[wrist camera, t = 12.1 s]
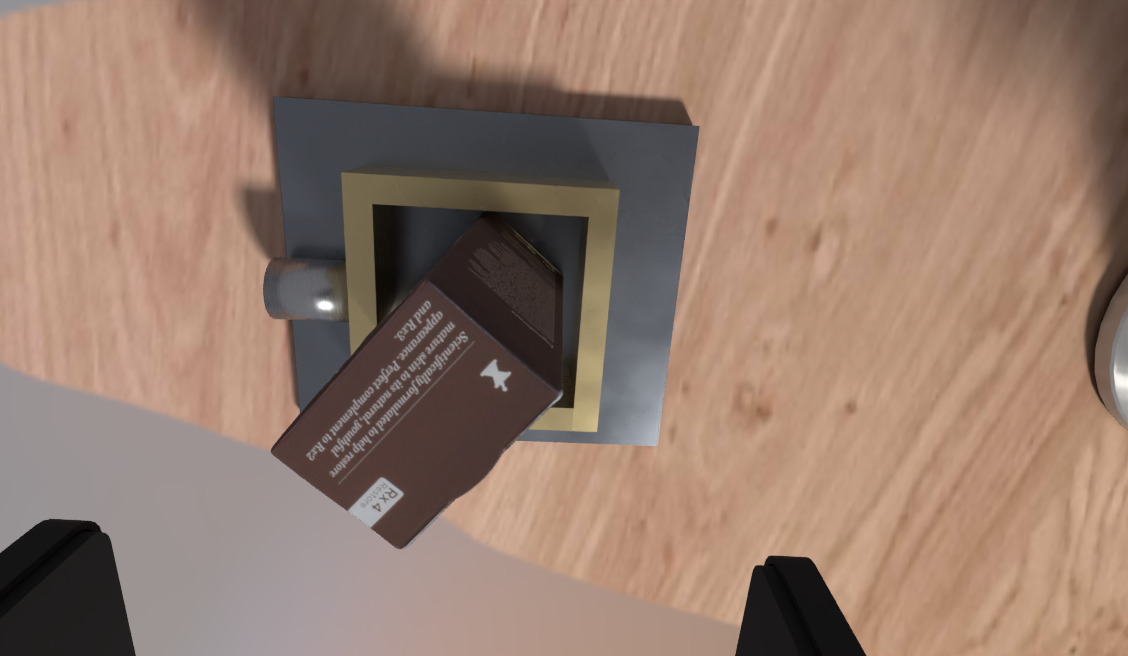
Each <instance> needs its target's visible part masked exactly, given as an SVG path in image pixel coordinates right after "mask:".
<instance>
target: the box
mask: <svg viewBox="0 0 1128 656" xmlns="http://www.w3.org/2000/svg"><path fill="white" fill-rule="evenodd" d="M563 279H564V277H563V275H561V273H560V272H559V271H558V270H557V269H556V268H555V267H554V266H553V264H552V263H551V262H549V261H548V260H547V259H545V258H544V257H543V256H542V255H541V254H540V253H539V252H538V251H537V250H536V249H535V248H534V247H533V246H532V245H531V244H530V243H528V242H527V241H526V240H525V239H523V238H522V237H521V236H520V235H519V234H518V233H517V232H516V231H515V230H514V229H513V228H512V227H510V226H509V225H508V224H507V223H506V222H505V221H504V220H503V219H502V218H501V217H500V216H499V215H497V214H496V213H495V212H494V211H485V212H484V213H483V214H482V215H481V216H480V217H479V218H478V219H477V220H476V221H475V222H474V223H473V224H472V225H471V227H470V228H469V229H468V230H467V231H466V232H465V233H464V234H463V235H462V236H461V237H460V238H459V239H458V240H457V242H456V243H455V244H454V245H453V246H452V247H451V248H450V249H449V250H448V251H447V253H446V254H445V255H444V256H443V257H442V258H441V259H440V261H439V262H438V263H437V264H436V265H435V266H434V267H433V268H432V269H431V270H430V271H429V273H428V274H427V275H426V276H425V277H424V278H423V279H422V280H421V281H420V282H419V283H418V284H417V285H416V286H415V287H414V288H413V289H412V290H411V292H410V293H409V294H408V295H407V296H406V297H405V298H404V299H403V300H402V301H401V302H400V303H399V304H398V305H397V306H396V307H395V308H394V309H393V310H392V311H391V312H390V313H389V314H388V315H387V317H386V318H385V319H384V320H383V321H381V322H380V323H379V324H378V325H377V326H376V327H375V328H374V329H373V330H372V331H371V332H370V333H369V334H368V335H367V336H366V338H365V339H364V340H363V342H362V343H361V344H360V346H359V347H358V348H357V349H356V351H355V352H354V353H353V354H352V355H351V356H350V357H349V358H348V360H347V361H346V362H345V363H344V364H343V365H342V366H341V367H340V369H339V370H338V371H337V372H336V373H335V374H334V376H333V377H332V378H331V379H330V380H329V381H328V382H327V383H326V384H325V385H324V387H323V388H322V389H321V390H320V391H319V392H318V393H317V394H316V396H315V397H314V398H313V399H312V400H311V401H310V402H309V404H308V405H307V406H306V407H305V408H304V410H303V411H302V412H301V413H300V414H299V415H298V417H297V418H296V419H295V420H294V421H293V423H292V424H291V425H290V426H289V427H288V429H287V430H286V431H285V432H284V433H283V434H282V436H281V437H280V438H279V439H278V441H277V442H276V443H275V444H274V446H273V447H272V449H271V453H272V455H274V456H275V457H276V458H277V459H279V460H280V461H281V462H282V463H284V464H285V465H286V466H288V467H289V468H290V469H292V470H293V471H294V472H296V473H297V474H298V475H299V476H300V477H302V478H303V479H305V480H306V481H307V482H309V483H310V484H311V485H312V486H314V487H315V488H316V489H318V490H319V491H321V492H322V493H324V494H325V495H326V496H328V497H329V498H330V499H332V500H333V501H334V502H336V503H337V504H338V505H340V506H341V507H343V508H344V509H345V510H347V511H348V512H349V513H351V514H352V515H354V516H355V517H356V518H358V519H359V520H360V521H362V522H363V523H364V524H366V525H367V526H368V527H370V528H371V529H372V530H374V531H375V532H376V533H378V534H379V535H380V536H381V537H383V538H384V539H385V540H387V541H388V542H389V543H390V544H392V545H393V546H394V547H395V548H397V549H403V548H406V547H408V546H409V545H410V544H412V542H414V541H415V540H416V538H417V537H418V536H419V535H420V534H421V533H422V532H423V531H424V530H425V529H426V528H427V527H428V526H429V525H430V524H431V523H432V522H433V521H434V520H435V519H436V518H437V517H438V516H439V515H440V514H441V513H442V512H443V511H444V510H445V509H446V508H447V507H448V506H449V505H450V504H451V503H452V502H453V501H454V500H455V499H457V498H459V497H460V496H462V495H464V494H466V493H467V492H469V491H470V490H471V489H473V488H474V487H475V486H476V485H477V484H479V483H480V482H481V481H482V480H483V479H484V478H485V477H486V476H487V475H488V474H489V472H490V471H491V470H492V469H493V467H494V466H495V465H496V463H497V462H498V460H499V458H500V457H501V455H502V454H503V453H504V452H505V451H506V450H507V449H508V448H509V447H510V446H511V445H512V444H513V443H514V442H515V441H516V440H517V439H518V438H519V437H520V436H521V435H522V434H524V433H525V432H526V431H527V430H528V429H529V428H530V427H531V426H532V425H533V424H534V423H535V422H536V421H537V420H538V419H539V418H540V417H541V416H542V415H543V414H544V413H545V412H546V411H547V410H548V409H549V408H550V407H552V406H553V405H554V404H555V403H556V402H557V401H558V400H559V399H560V398H561V397H562V395H563Z"/></svg>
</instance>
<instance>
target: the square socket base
mask: <svg viewBox="0 0 1128 656" xmlns="http://www.w3.org/2000/svg"><path fill="white" fill-rule="evenodd" d="M273 104H274V116H275V127H276V139H277V151H278V162H279V174H280V186H281V197H282V209H283V220H284V232H285V244H286V255H287V258H285V257H275V258H273V259H272V260H271V261H270V262H269V264H268V266H267V269H266V272H265V276H264V284H263V295H264V303H265V307H266V310H267V312H268V314H269V315H270V317H272V318H273V319H286V320H292V325H293V337H294V348H295V360H296V371H297V383H298V395H299V406H300V413H301V412H302V411H303V410H304V408H305V407H306V406H307V405H308V404H309V402H310V401H311V400H312V399H313V398H314V397H315V396H316V394H317V393H318V392H319V391H320V390H321V389H322V388H323V387H324V385H325V384H326V383H327V382H328V381H329V380H330V379H331V378H332V377H333V376H334V374H335V373H336V372H337V371H338V370H339V369H340V367H341V366H342V365H343V364H344V363H345V362H346V361H347V360H348V358H349V357H350V356H351V355H352V354H353V353H354V352H355V351H356V349H357V348H358V347H359V346H360V344H361V343H362V342H363V340H364V339H365V338H366V336H367V335H368V334H369V333H370V332H371V331H372V330H373V329H374V328H375V327H376V326H377V325H378V324H379V323H380V322H381V321H383V320H384V319H385V318H386V317H387V315H388V314H389V313H390V312H391V311H392V310H393V309H394V308H395V307H396V306H397V305H398V304H399V303H400V302H401V301H402V300H403V299H404V298H405V297H406V296H407V295H408V294H409V293H410V292H411V290H412V289H413V288H414V287H415V286H416V285H417V284H418V283H419V282H420V281H421V280H422V279H423V278H424V277H425V276H426V275H427V274H428V273H429V271H430V270H431V269H432V268H433V267H434V266H435V265H436V264H437V263H438V262H439V261H440V259H441V258H442V257H443V256H444V255H445V254H446V253H447V251H448V250H449V249H450V248H451V247H452V246H453V245H454V244H455V243H456V242H457V240H458V239H459V238H460V237H461V236H462V235H463V234H464V233H465V232H466V231H467V230H468V229H469V228H470V227H471V225H472V224H473V223H474V222H475V221H476V220H477V219H478V218H479V217H480V216H481V215H482V214H483V213H484V212H485V211H494V212H495V213H496V214H497V215H499V216H500V217H501V218H502V219H503V220H504V221H505V222H506V223H507V224H508V225H509V226H510V227H512V228H513V229H514V230H515V231H516V232H517V233H518V234H519V235H520V236H521V237H522V238H523V239H525V240H526V241H527V242H528V243H530V244H531V245H532V246H533V247H534V248H535V249H536V250H537V251H538V252H539V253H540V254H541V255H542V256H543V257H544V258H545V259H547V260H548V261H549V262H551V263H552V264H553V266H554V267H555V268H556V269H557V270H558V271H559V272H560V273H561V275H563V277H564V279H563V395H562V397H561V398H560V399H559V400H558V401H557V402H556V403H555V404H554V405H553V406H552V407H550V408H549V409H548V410H547V411H546V412H545V413H544V414H543V415H542V416H541V417H540V418H539V419H538V420H537V421H536V422H535V423H534V424H533V425H532V426H531V427H530V428H529V429H528V430H527V431H526V432H525V433H524V434H522V435H521V436H520V437H519V438H518V439H517V440H516V441H541V442H567V443H594V444H620V445H646V446H657V444H658V437H659V429H660V421H661V414H662V406H663V399H664V391H665V384H666V376H667V368H668V361H669V353H670V346H671V338H672V331H673V323H674V315H675V308H676V300H677V293H678V285H679V278H680V270H681V262H682V255H683V247H684V240H685V232H686V225H687V217H688V209H689V202H690V194H691V187H692V179H693V172H694V164H695V156H696V149H697V141H698V134H699V126H691V125H677V124H663V123H648V122H634V121H619V120H605V119H590V118H576V117H562V116H547V115H533V114H518V113H504V112H490V111H475V110H461V109H446V108H432V107H417V106H403V105H389V104H374V103H360V102H345V101H331V100H316V99H302V98H288V97H273Z"/></svg>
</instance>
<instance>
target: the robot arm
mask: <svg viewBox="0 0 1128 656" xmlns="http://www.w3.org/2000/svg"><path fill="white" fill-rule="evenodd" d="M1095 376H1096V381H1097V386H1098V391H1099V394H1100V396H1101V398H1102V400H1103V402H1104V404H1105V406H1106V408H1107V410H1108V412H1109V413H1110V414H1111V415H1112V416H1113V417H1114V418H1115V419H1116V421H1117V422H1118V423H1119V424H1120V425H1121V426H1123V427H1124V428H1126V429H1127V430H1128V274H1127V275H1126V277H1125V279H1124V280H1123V282H1122V283H1121V285H1120V287H1119V288H1118V290H1117V291H1116V293H1115V295H1114V296H1113V298H1112V299H1111V302H1110V304H1109V306H1108V309H1107V311H1106V313H1105V316H1104V318H1103V321H1102V323H1101V326H1100V331H1099V335H1098V339H1097V344H1096V348H1095ZM0 656H136V655H135V650H134V646H133V642H132V637H131V632H130V628H129V623H128V618H127V613H126V609H125V604H124V600H123V595H122V591H121V586H120V581H119V577H118V572H117V568H116V563H115V558H114V554H113V549H112V544H111V540H110V538H109V536H108V535H107V534H106V533H102V532H101V529H100V527H99V526H98V525H97V524H96V523H95V522H92V521H81V520H61V519H49V520H44V521H42V522H40V523H39V524H37V525H35V526H34V527H33V528H32V529H30V530H29V531H28V532H27V533H25V534H24V535H23V536H21V537H20V538H19V539H18V540H16V541H15V542H14V543H12V544H11V545H10V546H9V547H8V548H6V549H5V550H4V551H2V552H1V553H0ZM735 656H866V654H865V653H864V651H863V649H862V647H861V645H860V644H859V642H858V640H857V638H856V637H855V635H854V633H853V631H852V629H851V628H850V626H849V624H848V622H847V621H846V619H845V617H844V615H843V613H842V612H841V610H840V608H839V606H838V605H837V603H836V601H835V599H834V598H833V596H832V594H831V592H830V590H829V589H828V587H827V585H826V583H825V582H824V580H823V578H822V576H821V574H820V573H819V571H818V569H817V567H816V566H815V564H814V563H813V561H812V560H811V559H809V558H807V557H790V556H768V558H767V559H766V561H765V564H764V566H762V565H757V566H755V567H754V569H753V572H752V577H751V582H750V587H749V592H748V596H747V601H746V606H745V611H744V616H743V621H742V625H741V630H740V635H739V640H738V645H737V650H736V654H735Z"/></svg>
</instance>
